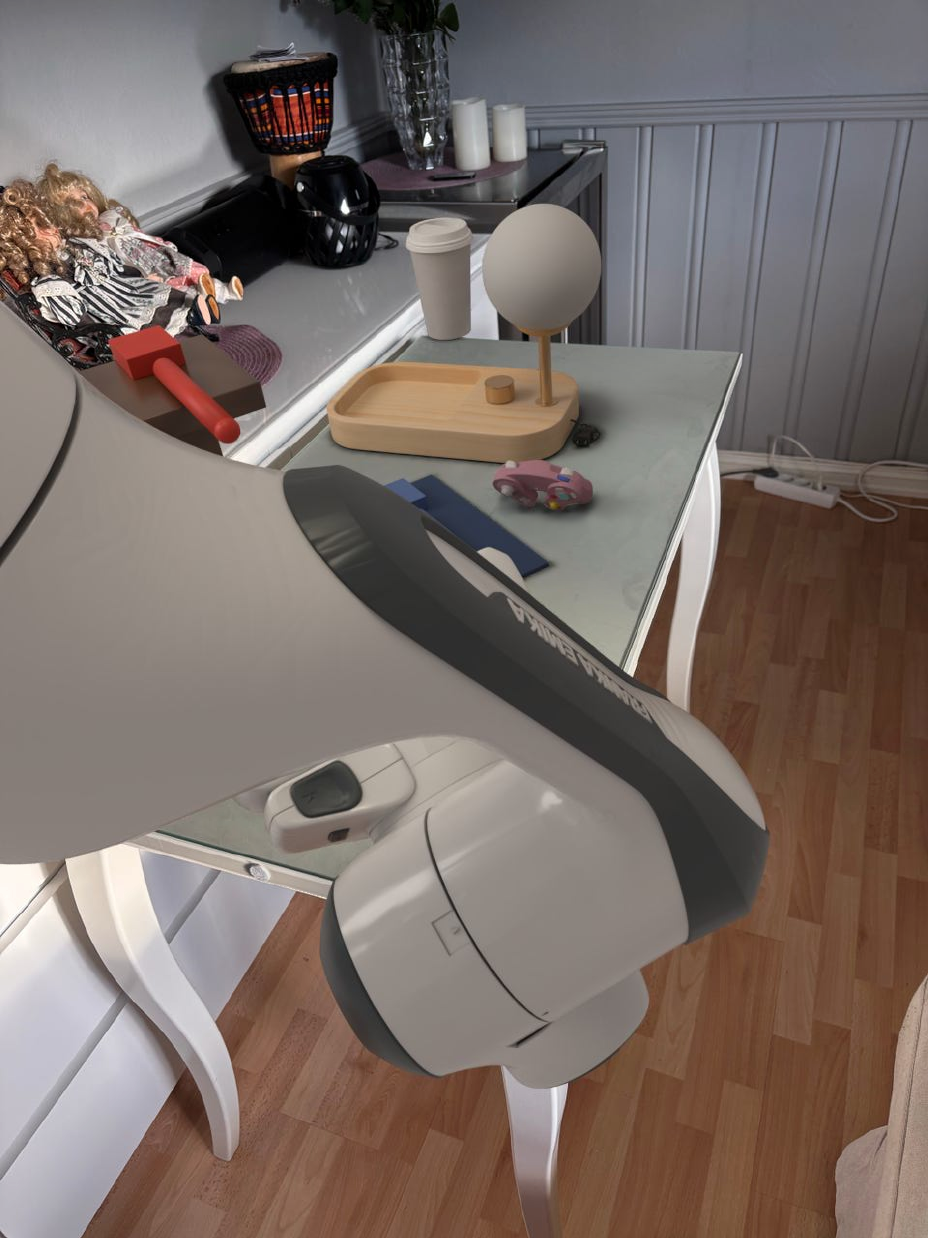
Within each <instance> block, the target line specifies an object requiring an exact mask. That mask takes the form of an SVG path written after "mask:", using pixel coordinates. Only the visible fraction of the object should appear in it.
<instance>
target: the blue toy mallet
mask: <svg viewBox="0 0 928 1238" xmlns="http://www.w3.org/2000/svg"><path fill="white" fill-rule="evenodd" d="M410 483H411V482H409V481H408V480H407V479H405V478H404V477H402V478H399V479H397V480H394V481H391V482H389V483H387V484H384V485H383V486H385V487H387V488H388V489H390V490H392V491H394V492H395V493H397V494H398V495H400V496H401V497H403V498H404V499H406V500H407V501H409V502H410V503H412V504H413V505H415V506H416V507H418V508H419V509H420V510H422V511H423V512H425V513H426V514H428V515H429V516H430V517H432V516H431V515H430V514H429V513H427V512H426V511H425V510H426V509H428V505H427V498H426V496H425V495H424V494H423V493H422V492H420V491H419V490H418V489H417V488H415V487H414V486H413V485H411V484H410ZM432 518H433V519H434V520H436V519H435V518H434V517H432ZM436 521H437V520H436ZM437 522H438V521H437ZM439 523H440V522H439ZM440 524H441V523H440ZM441 525H442V524H441ZM444 527H445V526H444ZM445 528H446V527H445ZM449 531H450V530H449Z"/></svg>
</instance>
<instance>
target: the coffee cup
mask: <svg viewBox="0 0 928 1238" xmlns="http://www.w3.org/2000/svg"><path fill="white" fill-rule="evenodd" d="M473 241H474V235H473V232H472V230H471V228H469V227H468V223H467V222H466V220H464V219H461V218H459V217H458V218H457V217H436V218H429V219H425V220H422V221H419V222H416V223H413V225H411V226H410V227H409V230H408V235H407V236H406V240H405V248H406V249H407V250H408V251H409V253H410V258H411V263H412V267H413V272H414V276H415V280H416V286H417V290H418V291H417V292H418V295H419V300H420V305H421V310H422V314H423V318H424V323H425V329H426V333H427V336H428V337H429V338H431V339H434V340H437V341H451V340H456V339H460V338H462V337H463V338H464V337H465V336H467V335H468V334H470V333H471V331H472V313H471V312H472V311H471V310H472V303H471V301H472V298H471V297H472V295H471V294H472V292H471V290H472V289H471V288H472V287H471V286H472V285H471V284H472V283H471V244H472V243H473Z"/></svg>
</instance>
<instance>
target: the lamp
mask: <svg viewBox="0 0 928 1238" xmlns="http://www.w3.org/2000/svg"><path fill="white" fill-rule="evenodd" d="M596 238H597V237H596V236H595V234H594V232H593V231H592V229H591V228H590V226H589V225H588V224H587V222H585V220H584V219H583V218H581V217H580V216H579V215H578V214H577V213H575V212H573V211H572V210H570V209H568V208H565V207H563V206H560V205H556V204H551V203H535V204H531V205H527V206H524V207H521V208H518V209H517V210H515V211H513V212H512V213H511V214H509V215H507V216H506V217H505V218H504V219H503V220H502V221H501V222H500V223H499V224H498V225H497V226H496V228H495V229H494V231H493V232H492V234H491V235H490V237H489V239H488V241H487V243H486V245H485V249H484V253H483V257H482V266H481V271H482V272H481V273H482V281H483V286H484V290H485V292H486V295H487V298H488V300H489V301H490V303H491V305H492V306H493V307H494V309H495V310H496V311H497V313H498V314H499V315H500V316H501V317H502V318H504V319H505V320H506V321H508V322H509V323H511V325H514V326H515V327H516V329H518V330H519V331H520V332H522V333H523V334H526V335H528V336H532V337H537V343H538V344H537V345H538V347H537V348H538V365H539V367H538V368H539V369H538V368H520V367H503V366H485V365H469V364H453V363H452V364H451V363H435V362H419V361H418V362H416V361H391V362H390V361H389V362H384V363H380V364H375V365H372V366H369V367H365V368H364V369H362V370H360V371H358V372H357V373H355V375H353V376H352V377H351V378H350V379H349V380H348V381H347V382H346V383H345V384H344V385H343V386H342V387H341V388H340V389H339V390H338V391H337V392H336V393H335V394H334V395H333V396H332V398H330V399H329V401H328V402H327V405H326V413H327V419H328V423H329V424H328V425H329V429H330V433H331V438H332V440H333V441H334V442H335V443H336V444H338V445H339V446H342V447H344V448H347V449H352V450H361V451H372V452H381V453H392V454H403V455H413V456H414V455H415V456H426V457H435V458H447V459H457V460H467V461H478V462H489V463H500V464H505V463H506V462H507V461H514V462H515V463H518V462H523V461H530V460H544V459H547V458H549V457H551V456H553V455H554V454H556V453H557V452H559V451H560V450H561V449H562V447H563V446H564V445H565V443H566V441H567V440H568V438H569V436H570V434H571V432H572V431H573V428H574V427H575V424H577V425H578V426H580V428H578V431H577V432H575V433H574V434H573V436H572V442H573V443H575V445H577V446H590V443H593V442H595V441H597V440H598V439H599V438H600V437H601V431H600V429H598V428H596V427H594V426H592V425H589V424H587V423H580V421H578V418H579V415H580V401H579V399H580V398H579V397H580V393H579V383H578V382H577V380H576V379H575V378H574V377H573V376H571V375H569V374H567V373H565V372H560V371H557V370H552V350H551V349H552V347H551V336H555V335H557V334H560V333H561V332H563V331H565V330H566V329H567V328H568V327H569V326H571V324H572V322H573V321H575V320H576V319H577V318H579V317H580V316H581V315H582V314H583V313H584V311H586V309H587V308H588V307H589V306H590V304H591V302H592V301H593V300H594V297H595V296H596V293H597V291H598V288H599V285H600V281H601V276H602V258H601V257H602V256H601V250H600V247H599V244H598V241H597V239H596ZM596 433H597V435H596ZM595 435H596V437H594V436H595Z"/></svg>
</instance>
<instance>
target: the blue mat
mask: <svg viewBox="0 0 928 1238" xmlns="http://www.w3.org/2000/svg"><path fill="white" fill-rule="evenodd" d="M409 483H410V484H411V485H413V486H414V487H415V488H417V489H418V490H419V491H420V492H422V493H423V494H424V495H425V496H426V498H427V505H428V509H426V510H425V511H426V512H427V513H429V514H430V515H431V516H432V517H434V518H435V519H436V520H437V521H438V522H440V523H441V524H442V525H443V526H445V527H446V528H447V529H448V530H450V531H451V532H452V533H453V534H455V535H456V536H457V537H458V538H460V539H461V540H462V541H464V542H465V543H466V544H467V545H469V546H470V547H471V548H473V549H474V550H475V551H479V550H481V549H484V548H487V547H491V548H494V549H496V550H498V551H500V552H503V553H505V554H507V555H508V556H509V557H510V558H511V559H512V561H513V563H514V564H515V566H516V568H517V569H518V571H519V573H520V575H521V576H522V578H523V579H524V578H526V577H528V576H530V575H532V574H534V573H536V572H538V571H540V570H543V569H544V568H547V567H549V566H550V562H549V560H546V559H545V557H543V556H541V555H540V554H538V553H537V552H536V551H534V550H533V549H532V548H530V547H529V546H527V545H526V544H525V543H524V542H522V541H521V540H519V538H517V537H516V536H514V534H512V533H510V532H509V531H508V530H507V529H505V528H504V527H502V526H501V524H498V523H497V522H496V521H494V520H493V519H491V518H490V517H489V516H488V515H487V514H485V513H484V512H483V511H481V510H479V509H478V508H477V507H476V506H474V504H472V503H470V502H469V501H467V500H466V499H465V498H463V497H462V496H461V495H459V494H458V493H457V492H455V491H454V490H453V489H451V488H450V487H449V486H448V485H446V484H445V483H443V481H440V480H439V479H438V477H436V476H435V475H433V474H429V475H426V476H424V477H422V478H419V479H417V480H413V481H412V482H409Z"/></svg>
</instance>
